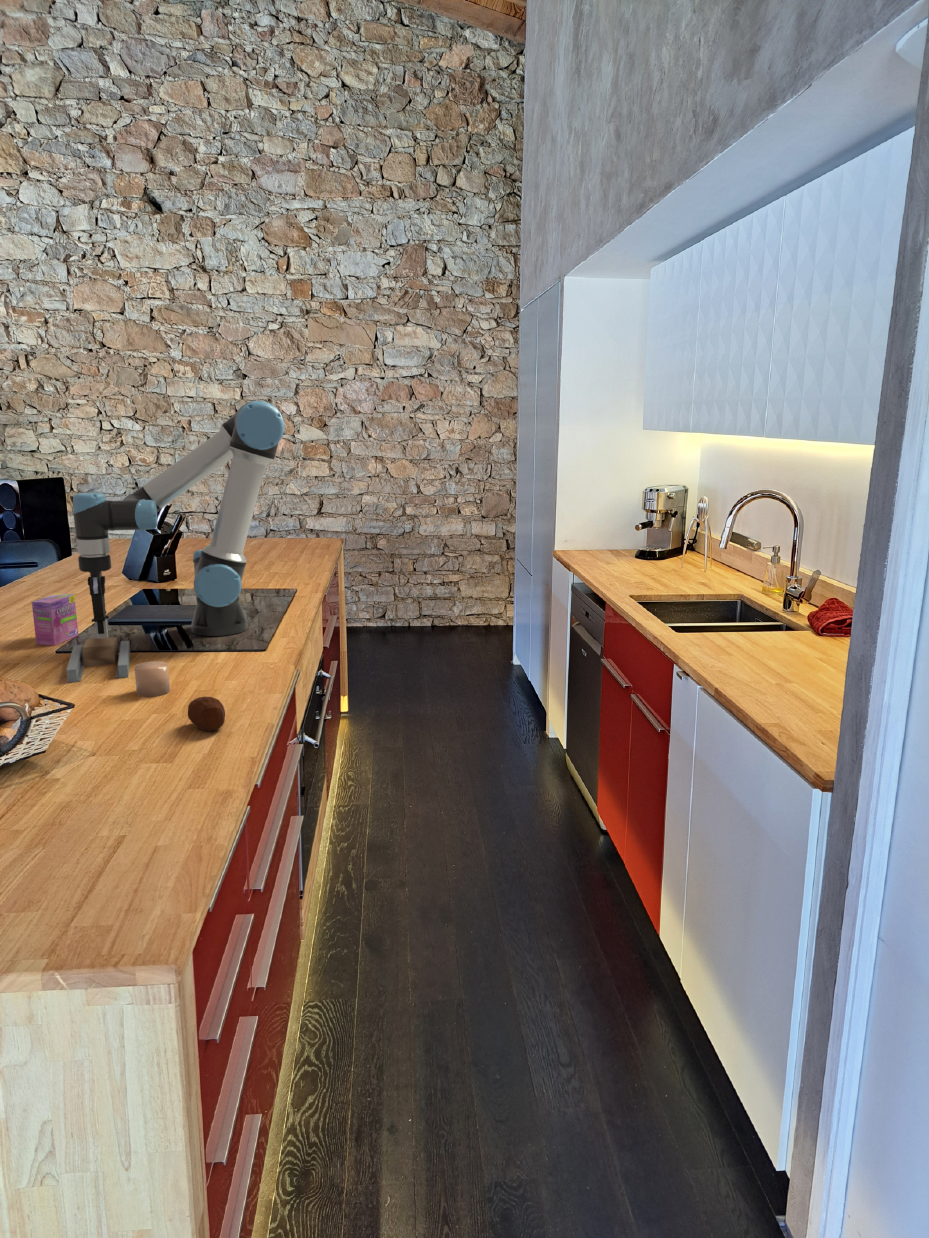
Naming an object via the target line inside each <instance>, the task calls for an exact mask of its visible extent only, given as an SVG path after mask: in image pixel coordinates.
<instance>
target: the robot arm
mask: <svg viewBox="0 0 929 1238" xmlns="http://www.w3.org/2000/svg"><path fill="white" fill-rule="evenodd" d="M219 428H220V429H219V431H218V432H216V433H215V434H213V435H212V436H211V437H210V438H208V439H206V440H205V441H204V442H202V443H201V444H199V445H198V446H197V447H195V448H194V449H192V450H191V451H190V452H188V453H187V454H185V455H184V456H183V457H181V458H179V460H177V461H175V462H174V463H173V464H172V465H170V466H169V467H168V468H166V469H164V470H163V471H161V472H160V473H159V474H158V475H156V476H155V477H153V478H152V479H151V480H149V481H148V482H147V483H145V484H144V485H143V486H141V487H139V488H138V489H137V490H135V491H134V492H133V493H130V494H128V495H127V496H125V497H124V498H123V500H122V499H121V500H108V499H106V495H105V494H104V493H103V492H91V491H90V492H79V493H76V494H74V495H73V497H72V506H73V507H72V509H73V512H72V514H73V520H74V529H75V531H74V532H75V538H76V541H75V542H73V543H74V544H73V545H74V546H75V547H77V548H76V549H77V554H78V555H79V556H78V557H77V561H78V569H79V571H81V572H82V573H89V575H90V576H88V578H87V585H88V588H89V595H90V597H91V605H92V613H93V618H91V623H94V628H95V629H94V630H95V639H97V638H109V636H108V635H109V633H108V624H107V623H108V621H107V619H109V618H110V615H107V611H106V600H105V599H106V598H105V593H106V585H105V584H106V576H105V575H103V572H106V571H109V570H111V569H112V560H111V555H110V554H109V553H110V552H111V548H110V547H111V546H110V537H109V531H112V532H113V531H146V530H155V529H156V528H157V527H158V512H159V511H160V510H162V509H163V508H164V507H166V506H167V505H169V504H170V503H172V502H173V501H174V500H177V498H178V497H180V496H181V495H183V494H184V493H186V492H187V491H188V490H190V489H192V488H193V487H194V486H196V485H197V484H199V483H200V482H201V481H203V480H204V479H205V478H207V477H208V476H210V475H211V474H212V473H214V472H216V471H217V470H218V469H219V468H220V467H223V466H224V465H225V464H226V463H228V462H229V461H230V460H231V463H230V466H229V471H228V474H227V478H226V482H225V486H224V490H223V492H222V493H223V494H222V497H221V501H220V505H219V509H218V512H217V517H216V521H215V524H214V528H213V530H212V534H211V535H212V536H211V539H210V543H209V544H208V545H207V546H205V547H203V548H202V549H197V550H195V551H194V552H193V559H192V562H193V568H194V569H193V572H194V574H193V575H194V580H193V589H194V592H195V598H196V606H195V610H194V614H193V617H192V620H191V633H193V634H194V635H199V636H203V637H222V636H229V635H235V634H239V633H243V632H245V631H247V629H248V620H247V617H246V615H245V612H244V610H243V609H244V608H243V607H242V604H241V602H240V594H241V592H242V589H243V584H242V580H243V576H244V573H245V570H246V565H247V561H248V560H247V557H246V556H245V554H244V549H245V545H246V542H247V538H248V536H249V532H250V528H251V523H252V520H253V516H254V512H255V508H256V505H257V501H258V497H259V494H260V491H261V486H262V484H263V479H264V475H265V471H266V468H267V465H269V464H270V463H272V462H273V461H275V458H276V453H277V451H278V447H279V443H280V442H281V440H282V438H283V437H284V433H285V421H284V419H283V416H282V413H281V412H280V411H279V409H278V408H277V407H275V406H274V405H273V404H272V403H269V402H267V401H262V400H254V401H249V402H247V403H245V404H243V405H241V406H240V408H239V409H238V410H237V411H236V412H235V413H234V414H233V415H232V416H230V417H229V419H227V420H226V421H225V422H223V423H222V424H220V427H219Z"/></svg>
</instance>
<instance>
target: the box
mask: <svg viewBox="0 0 929 1238" xmlns="http://www.w3.org/2000/svg"><path fill="white" fill-rule="evenodd" d="M31 607H32V616H33V626H34V635H35V642H36V645H39V646H51V647H55V646H57V645H60V644H61V643H65V642H66V641H69V640H72V639H74V638H76V637H79V627H78V617H77V609H76V608H77V607H76V595H75V594H72V593H61V592H60V593H53V594H51V595H48V596H46V597H42V598H40V599H36V600H33V601H31Z"/></svg>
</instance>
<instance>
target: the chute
mask: <svg viewBox="0 0 929 1238" xmlns="http://www.w3.org/2000/svg"><path fill="white" fill-rule="evenodd" d="M83 645H84V644H82V643H81V644H73V647H72V651H71V654H70V658H69V660H68V664H67V667H66V679H67V683H68V684H69V683H77V682H81V680H82V678H83V677H82V676H83V672H84V668H85V667H84V659H83V649H82V647H83ZM130 661H131V647H130V640H122V641H121V640H120V646H119V651H118V657H117V665H116V672H115V673H116V674H115V679H123V678H124V679H125V678H129V673H130Z"/></svg>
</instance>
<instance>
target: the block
mask: <svg viewBox="0 0 929 1238" xmlns="http://www.w3.org/2000/svg"><path fill="white" fill-rule="evenodd" d="M82 649H83V659H84V668H85V667H100V666H112V665H116V663H117V661H118V655H119V651H118V640H117V637H108V638H97V639H96V638H86V640H85V641H84V644H83V647H82Z"/></svg>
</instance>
